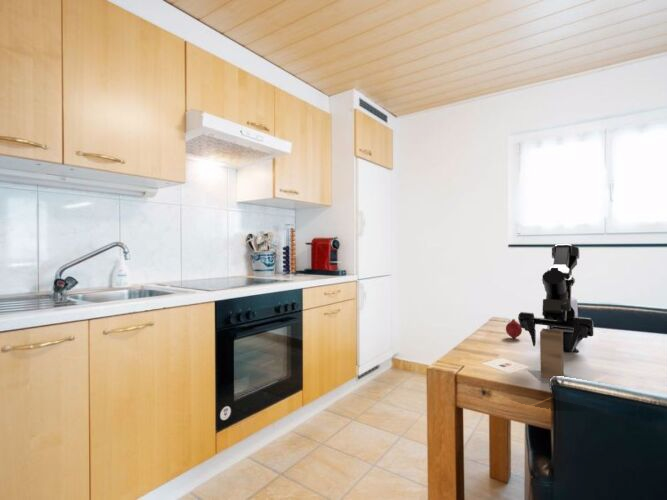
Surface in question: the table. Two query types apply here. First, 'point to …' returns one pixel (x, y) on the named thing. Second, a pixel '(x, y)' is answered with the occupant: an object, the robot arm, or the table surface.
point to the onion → (513, 329)
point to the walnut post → (551, 353)
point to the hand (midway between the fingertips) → (552, 348)
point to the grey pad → (538, 375)
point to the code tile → (505, 365)
